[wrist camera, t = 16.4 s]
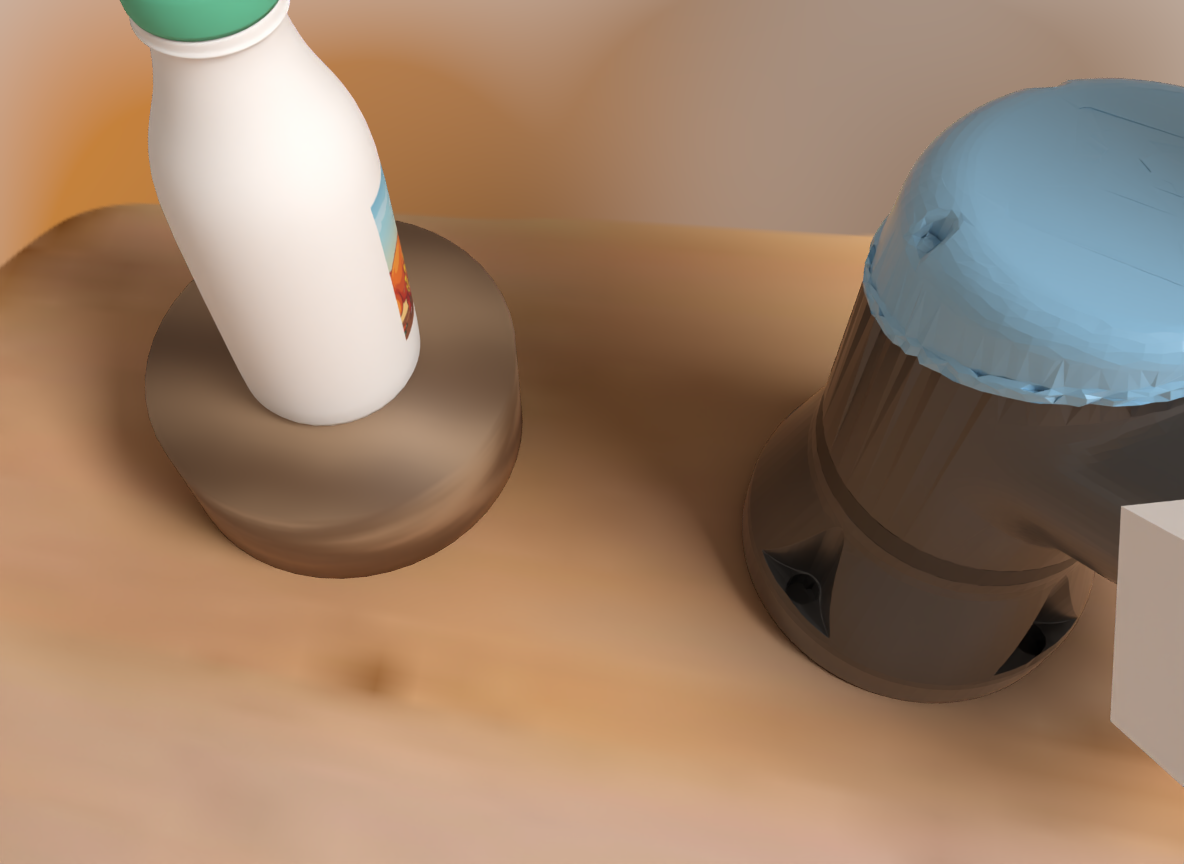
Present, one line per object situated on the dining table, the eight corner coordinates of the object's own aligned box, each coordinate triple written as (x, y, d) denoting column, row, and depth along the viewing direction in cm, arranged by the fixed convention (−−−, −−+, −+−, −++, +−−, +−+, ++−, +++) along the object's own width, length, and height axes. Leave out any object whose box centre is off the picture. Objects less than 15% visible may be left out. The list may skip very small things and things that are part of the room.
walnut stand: (265, 269, 56) (233, 189, 51) (557, 326, 55) (555, 250, 50) (131, 536, 48) (78, 473, 43) (468, 613, 47) (454, 557, 42)
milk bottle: (407, 438, 44) (295, 41, 27) (224, 425, 45) (-1, 24, 27) (435, 292, 48) (353, -136, 31) (267, 281, 48) (94, -149, 31)
